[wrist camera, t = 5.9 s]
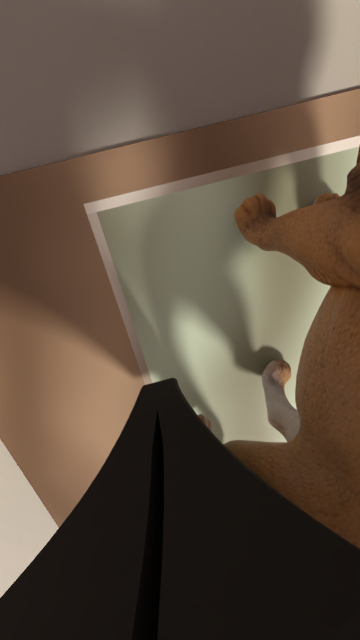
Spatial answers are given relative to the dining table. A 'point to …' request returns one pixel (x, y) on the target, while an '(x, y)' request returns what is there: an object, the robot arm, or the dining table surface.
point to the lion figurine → (315, 362)
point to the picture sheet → (156, 284)
